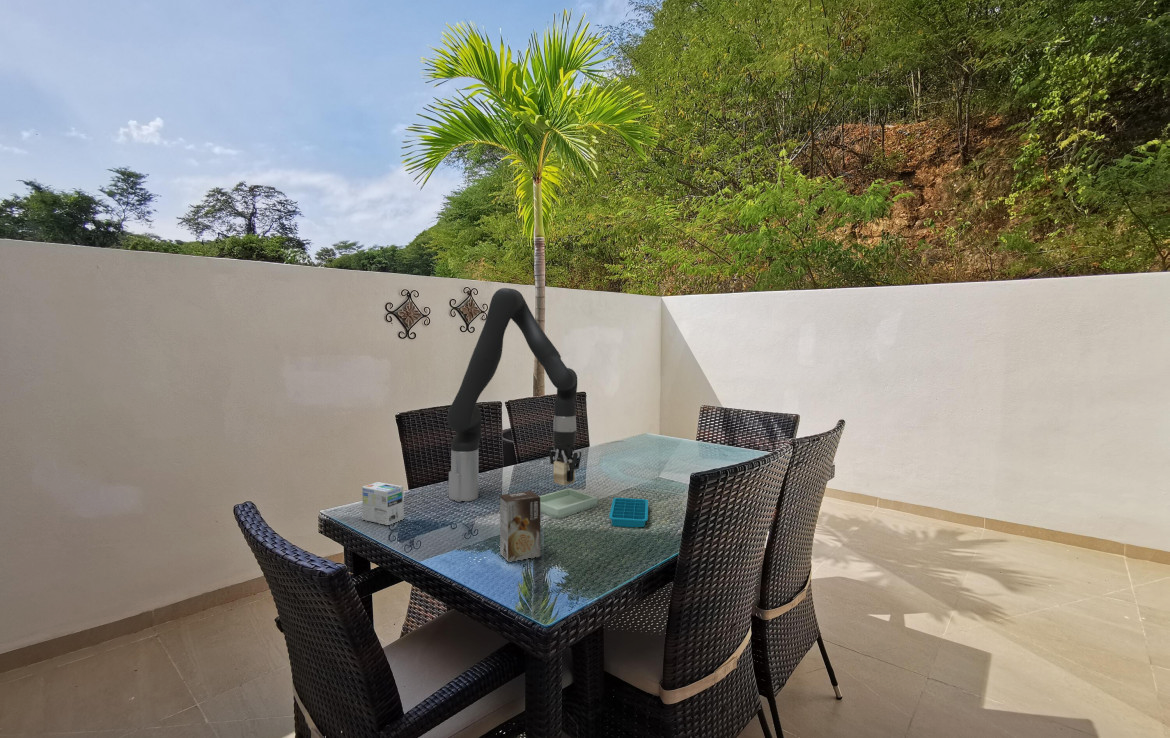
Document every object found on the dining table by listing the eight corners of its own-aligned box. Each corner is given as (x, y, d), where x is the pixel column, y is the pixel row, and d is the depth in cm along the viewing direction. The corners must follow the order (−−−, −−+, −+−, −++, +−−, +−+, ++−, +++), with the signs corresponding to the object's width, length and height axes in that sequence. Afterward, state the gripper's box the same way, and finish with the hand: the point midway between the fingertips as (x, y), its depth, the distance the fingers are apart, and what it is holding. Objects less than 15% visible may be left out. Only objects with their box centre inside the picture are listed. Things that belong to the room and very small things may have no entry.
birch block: (563, 485, 172) (563, 463, 171) (553, 482, 175) (553, 461, 175) (574, 482, 175) (575, 461, 175) (564, 479, 179) (564, 458, 178)
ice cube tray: (647, 508, 178) (648, 499, 177) (647, 530, 158) (647, 520, 157) (613, 506, 179) (613, 497, 179) (608, 527, 159) (608, 518, 159)
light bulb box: (404, 520, 162) (404, 485, 161) (388, 527, 156) (387, 491, 155) (378, 514, 166) (378, 480, 165) (361, 521, 160) (361, 486, 159)
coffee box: (531, 548, 143) (532, 489, 141) (541, 557, 137) (541, 496, 136) (499, 554, 138) (499, 494, 137) (507, 564, 133) (507, 501, 131)
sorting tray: (557, 519, 164) (557, 509, 164) (529, 507, 174) (529, 499, 174) (597, 506, 177) (597, 497, 177) (568, 496, 187) (568, 488, 187)
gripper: (541, 427, 176) (541, 477, 177) (571, 433, 166) (570, 486, 167) (558, 424, 181) (558, 473, 183) (588, 430, 171) (587, 481, 173)
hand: (564, 479), depth 175 cm, fingers closed on birch block, 5 cm apart
